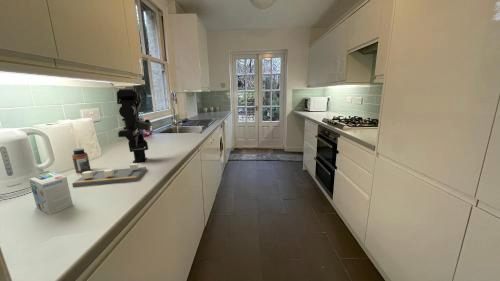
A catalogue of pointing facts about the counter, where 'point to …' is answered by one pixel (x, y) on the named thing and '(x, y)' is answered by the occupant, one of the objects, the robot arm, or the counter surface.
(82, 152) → the supplement bottle
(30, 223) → the counter surface
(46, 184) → the light bulb box
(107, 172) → the switch middle
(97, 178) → the switch panel
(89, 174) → the switch right
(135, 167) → the switch
